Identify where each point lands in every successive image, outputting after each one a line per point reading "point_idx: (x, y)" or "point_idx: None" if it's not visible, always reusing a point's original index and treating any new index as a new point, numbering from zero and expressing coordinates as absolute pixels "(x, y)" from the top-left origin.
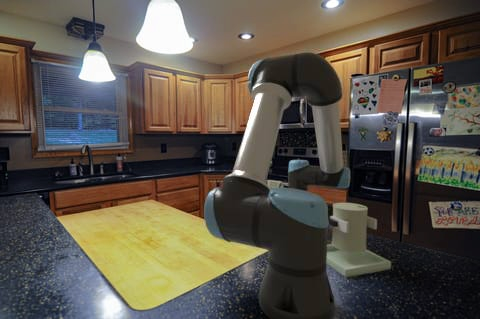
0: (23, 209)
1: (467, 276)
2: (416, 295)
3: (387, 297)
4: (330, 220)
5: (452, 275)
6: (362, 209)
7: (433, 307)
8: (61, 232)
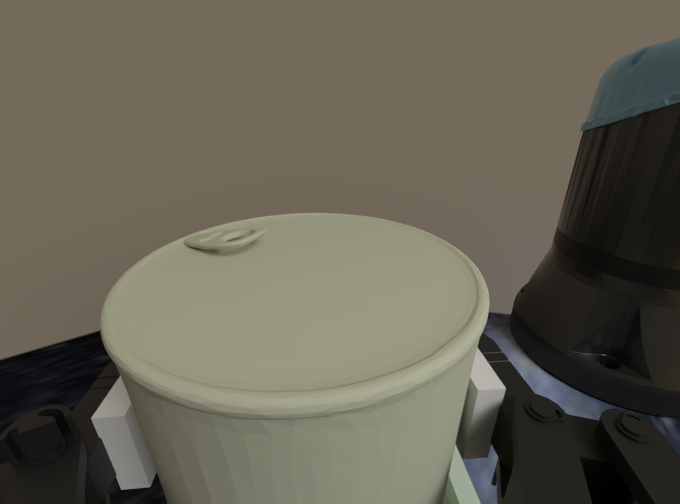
0: None
1: (46, 355)
2: None
3: None
4: (509, 363)
5: (74, 365)
6: (278, 222)
7: None
8: None
